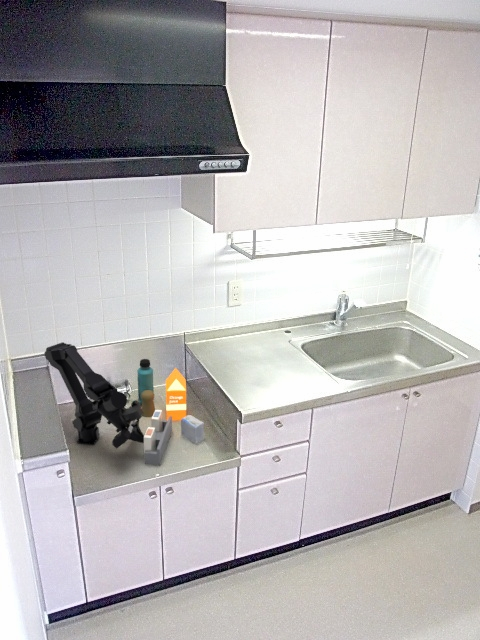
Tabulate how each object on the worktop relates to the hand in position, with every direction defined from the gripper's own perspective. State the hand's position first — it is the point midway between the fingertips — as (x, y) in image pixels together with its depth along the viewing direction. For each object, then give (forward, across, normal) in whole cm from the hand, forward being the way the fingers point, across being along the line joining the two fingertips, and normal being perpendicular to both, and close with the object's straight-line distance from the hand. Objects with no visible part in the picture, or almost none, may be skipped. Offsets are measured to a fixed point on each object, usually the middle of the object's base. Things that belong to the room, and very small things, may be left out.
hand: (145, 442), depth 191 cm
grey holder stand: (+7, +6, +3) cm, 10 cm away
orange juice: (+9, +27, +2) cm, 29 cm away
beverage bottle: (-1, +35, +12) cm, 37 cm away
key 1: (+5, 0, +3) cm, 6 cm away
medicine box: (+15, +13, -5) cm, 21 cm away
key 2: (+5, +11, +3) cm, 13 cm away
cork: (+1, +26, +9) cm, 28 cm away
